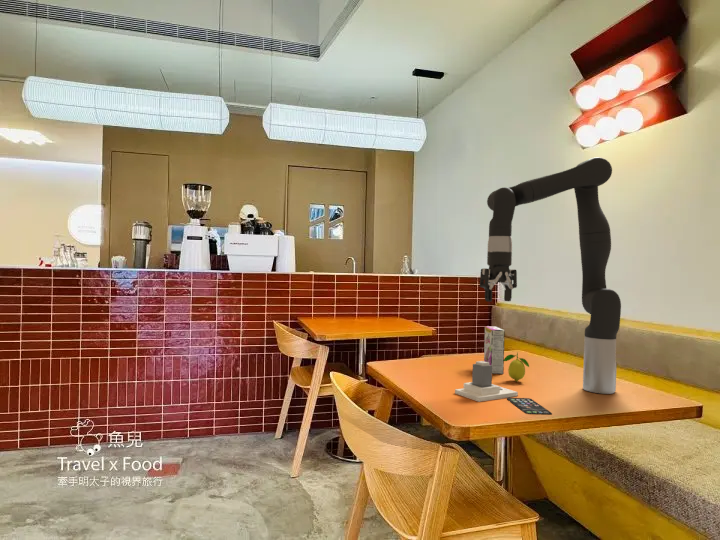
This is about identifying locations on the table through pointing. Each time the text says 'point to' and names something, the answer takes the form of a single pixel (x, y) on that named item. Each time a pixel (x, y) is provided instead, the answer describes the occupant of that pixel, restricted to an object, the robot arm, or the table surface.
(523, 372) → the lemon
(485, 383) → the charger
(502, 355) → the candy bar box
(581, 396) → the table surface
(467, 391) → the outlet plate
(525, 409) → the smartphone
